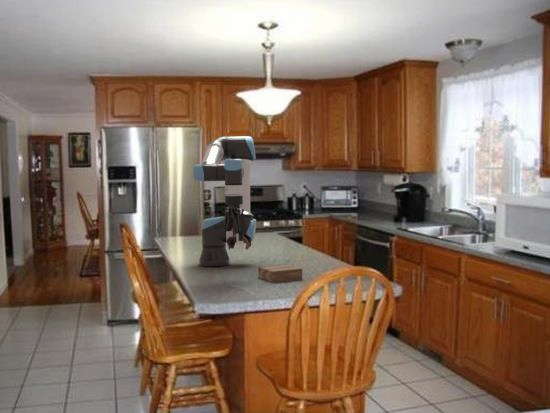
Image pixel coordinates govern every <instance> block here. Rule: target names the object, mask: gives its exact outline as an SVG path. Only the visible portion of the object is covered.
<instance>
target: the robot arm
mask: <svg viewBox="0 0 550 413" xmlns="http://www.w3.org/2000/svg"><path fill="white" fill-rule="evenodd" d="M203 151H204V154H203V155H204V156H203V158H202V161H201V163H198V164H194V165H193V169H192V173H193V180H194V181H196V182H203V183H204V182H224V188H223V190H224V195H225V196H224V204H225V205H227V207H224V216H216V217H215V216H214V217H210V218H206V219H203V220H202V222H201V240H202V241H201V242H202V243H201V244H202V245H201V246H202V250H201V253H200V256H199V259H198V265H199V266H202V267H223V266H227V265H230V261H231V260H230V257H229V254H228V251H227V247H229V246H228V244H227V239H228V238H229V237H232V236H234V235H235V234H236V236H237V242H236V243H235V244H236V250H243V249H244V244H245V243H244V242H243V233H244V234H246V235H248V236H249V237H251V239H252V241H251V243H252V242H254V240H255V236H256V229H257V219H256V218H254V214H252V212H251V165H252V164H253V163H254V160H256V158H257V156H256V151H255V142H254V138H253V137H252V136H247V135H246V136H245V135H240V136H219V137H217V138H216V137H215V139H213V140H211V141H210V142H208V143H207V145H206V146H205V147H204V150H203ZM221 160H224V163H220V161H221ZM244 238H245V237H244ZM247 242H248V241H247Z"/></svg>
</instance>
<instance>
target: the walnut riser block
mask: <svg viewBox="0 0 550 413" xmlns="http://www.w3.org/2000/svg"><path fill="white" fill-rule="evenodd" d="M257 268H258V269H257V271H258V272H257V273H258V274H257V276H258V278H259V279H261V280H265V281H267V282H270V283H273V284H274V283H275V284H276V283H282V282H291V281H299V280H303V268H301V267H298V266H294V265H290V264H277V265H266V266H258V267H257Z"/></svg>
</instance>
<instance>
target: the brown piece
mask: <svg viewBox="0 0 550 413" xmlns="http://www.w3.org/2000/svg"><path fill="white" fill-rule="evenodd" d="M244 237H245V238H244ZM247 241H248V242H247ZM251 241H252V239H251V237H249V236H248V235H246V234H244V233H243V242H244V243H243V244H245V250H246V251H247V250H249V249H250V247H251V246H252V242H253V241H252V242H251ZM236 242H237V236H236V234H235V235H234V236H232V237H229V238H228V239H227V243H226V245H227V244H228V246H227V247H228V250H231V249H232V250H233V249H235V245H236V244H237V243H236Z"/></svg>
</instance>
